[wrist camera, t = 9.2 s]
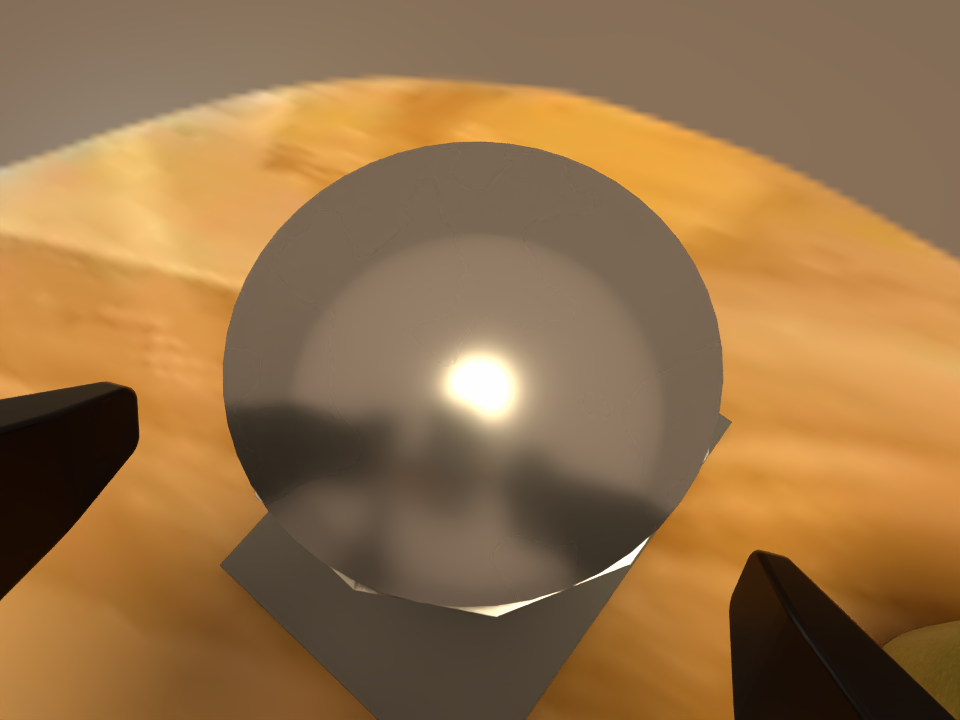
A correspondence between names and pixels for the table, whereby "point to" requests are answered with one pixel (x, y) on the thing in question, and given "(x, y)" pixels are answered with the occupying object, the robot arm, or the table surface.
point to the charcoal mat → (419, 633)
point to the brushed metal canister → (473, 375)
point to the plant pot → (932, 661)
